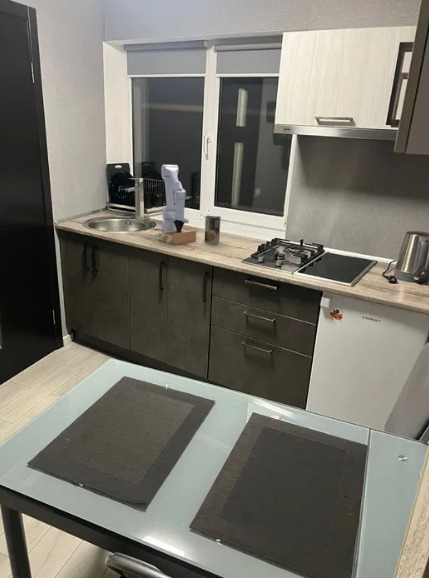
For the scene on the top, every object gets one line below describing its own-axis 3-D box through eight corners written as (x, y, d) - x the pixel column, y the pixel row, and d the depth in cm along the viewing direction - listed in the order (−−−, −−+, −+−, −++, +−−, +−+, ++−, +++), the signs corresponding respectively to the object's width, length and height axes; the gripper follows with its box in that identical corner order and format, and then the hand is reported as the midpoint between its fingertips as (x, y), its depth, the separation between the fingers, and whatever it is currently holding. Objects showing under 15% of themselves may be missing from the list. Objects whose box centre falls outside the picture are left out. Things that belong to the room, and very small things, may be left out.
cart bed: (158, 240, 265) (159, 233, 263) (180, 236, 278) (180, 229, 276) (172, 245, 257) (173, 237, 255) (194, 240, 269) (194, 233, 268)
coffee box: (219, 241, 272) (221, 216, 266) (218, 244, 266) (220, 218, 260) (205, 240, 272) (206, 215, 267) (204, 242, 266) (205, 217, 261)
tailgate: (173, 244, 257) (173, 233, 254) (194, 240, 269) (195, 230, 267) (174, 244, 256) (174, 234, 254) (195, 240, 268) (196, 230, 266)
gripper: (166, 209, 261) (166, 230, 266) (182, 213, 252) (182, 235, 257) (175, 208, 266) (174, 229, 271) (191, 212, 257) (190, 234, 262)
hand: (178, 232), depth 264 cm, fingers closed
